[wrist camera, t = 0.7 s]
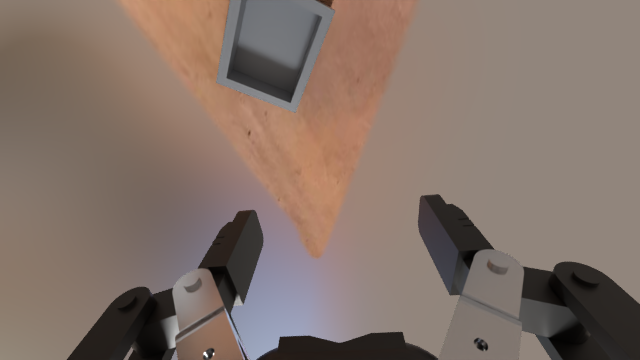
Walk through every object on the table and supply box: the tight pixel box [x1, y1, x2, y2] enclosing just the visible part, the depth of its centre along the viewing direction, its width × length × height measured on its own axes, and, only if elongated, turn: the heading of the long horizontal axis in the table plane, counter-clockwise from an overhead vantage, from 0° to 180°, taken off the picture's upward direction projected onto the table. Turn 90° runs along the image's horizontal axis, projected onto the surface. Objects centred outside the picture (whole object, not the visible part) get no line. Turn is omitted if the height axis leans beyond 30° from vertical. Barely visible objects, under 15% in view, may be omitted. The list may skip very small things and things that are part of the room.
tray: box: [216, 0, 335, 113], centre depth 29 cm, size 10×12×4 cm
